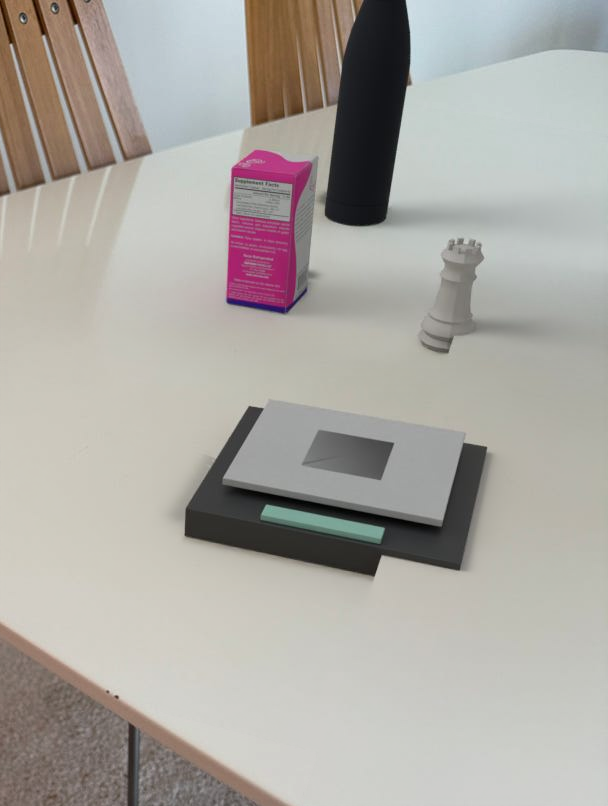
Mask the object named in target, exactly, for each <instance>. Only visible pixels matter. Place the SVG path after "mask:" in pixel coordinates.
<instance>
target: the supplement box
mask: <svg viewBox="0 0 608 806" xmlns="http://www.w3.org/2000/svg"><path fill="white" fill-rule="evenodd" d="M318 167H319V155H316V154H306V153H296V152H295V153H294V152H285V151H277V150H269V149H258V148H256V149H254V150H253V151H252V152H250V153H249V154H248V155H246V156H245V157H243V158H242V159H241V160H240V161H238V162H237V163H236V164H234V165H233V166H232V167H230V168H231V169H230V172H231V173H230V196H229V220H228V226H229V227H228V247H227V268H226V270H227V271H226V293H225V294H226V295H225V296H226V297H225V303H226V304H229V305H234V306H239V307H244V308H251V309H256V310H260V311H261V310H262V311H268V312H272V313H276V314H282V315H287V314H288V313H289V312H290V311H291V310H292V309H293V307H294V306H295V305H296V304H297V303H298V302H300V300H301V299H302V297H304V295H305V294H306V293H307V292H308V284H309V283H308V281H309V269H310V268H309V267H310V257H311V245H312V234H313V223H314V213H315V203H316V202H315V201H316V192H317V191H316V190H317V182H318V181H317V179H318Z"/></svg>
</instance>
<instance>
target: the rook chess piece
mask: <svg viewBox="0 0 608 806" xmlns="http://www.w3.org/2000/svg"><path fill="white" fill-rule="evenodd" d="M464 240H465V237H457V238H456V239H454V238H451V239H449V240H448V242H447V246H446V247H445V248H444V249H443V250H442V251H441V252H440V257H441V259H442V261H443V263H444V267H443V269H442V270H441V271H440V272H439V276H440V285H439V289H438V291H437V295H436V297H435V301H434V303H433V304H432V307H431V308H429V309H428V312H427V314H426V315H424V316H423V318H422V320H421V322H420V328H421V329H420V330H419V331H418V332H417V338H418V339H419V341H420V343H421V345H422V346H423V347H425V348H427V349H428V350H430V351H434V352H438V353H443V354H444V353H445V354H450V353H449V352H450V349H451V346H452V344H453V340H454V338H455V336H457V337H458V336H460V337H461V336H464V335H470V334H471V333H473V332H474V331H475V329H476V323H475V321H474V320H473V316H474V315H473V313H472V308H471V304H472V303H471V301H472V291H473V290H472V289H473V284H474V282H475V281H476V280H477V279H478V276H477V273H476V268H477V267H478V266H479V265H480V264H481V263H482V262H483V261H484V260H485V256H484V254H483V252H482V246H483V244H482V243H481V242H480V241H477V239H473V238H469V239H468V243H467V244H466V243H464ZM455 242H456V243H455Z"/></svg>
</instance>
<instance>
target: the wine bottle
mask: <svg viewBox="0 0 608 806" xmlns="http://www.w3.org/2000/svg"><path fill="white" fill-rule="evenodd" d="M410 27H411V26H410V20H409V12H408V5H407V0H362V3H361V5H360V7H359V9H358V12H357V14H356V17H355V20H354V22H353V24H352V27H351V29H350V33H349V35H348V38H347V42H346V46H345V49H344V53H343V57H342V63H341V64H342V65H341V71H340V80H339V88H338V96H337V104H336V113H335V121H334V130H333V138H332V145H331V155H330V156H331V157H330V163H329V170H328V180H327V188H326V196H325V204H324V216H325V217H326V218H327V219H328V220H330V221H332V222H334V223H338V224H342V225H347V226H360V227H363V226H372V225H379V224H380V223H382V222H385V220H386V219H387V216H388V210H389V204H390V203H389V202H390V197H391V196H390V195H391V192H392V191H391V190H392V184H393V178H394V172H395V166H396V165H395V164H396V158H397V151H398V146H399V139H400V133H401V127H402V120H403V114H404V107H405V102H406V94H407V88H408V81H409V75H410V71H411V60H412V59H411V57H412V55H411V53H412V51H411V50H412V49H411V48H412V45H411V42H412V41H411V28H410Z"/></svg>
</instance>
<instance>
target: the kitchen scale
mask: <svg viewBox="0 0 608 806" xmlns="http://www.w3.org/2000/svg"><path fill="white" fill-rule="evenodd" d="M466 436H467V432H466V431H461V430H454V429H449V428H442V427H437V426H431V425H425V424H420V423H419V424H418V423H414V422H406V421H402V420H395V419H390V418H389V419H388V418H383V417H378V416H371V415H366V414H360V413H353V412H348V411H342V410H336V409H331V408H326V407H325V408H324V407H318V406H312V405H308V404H307V405H306V404H300V403H296V402H295V403H294V402H289V401H283V400H277V399H268V401H267V402H266V404H265V406H264V407H258V406H253V405H248V407H247V408H246V409H245V411H244V413H243V415H242V416H241V418H240V420H239V421H238V423H237V425H235V428H234V430H233V431H232V432H231V434H230V436H229V437H228V439H227V441H226V442H225V444H224V445H223V446H222V448H221V451H219V454H218V455H217V457H216V458H215V460H214V462H213V463H212V465H211V467H210V468H209V470H208V472H207V473H206V474H205V476H204V478H203V479H202V481H201V482H200V484H199V485H198V488H197V489H196V491H195V492H194V494H193V495H192V497H191V499H190V500H189V502H188V503H187V505H186V507H185V510H184V511H185V512H184V513H185V514H184V534H183V535H184V537H189V538H193V539H197V540H202V541H207V542H212V543H216V544H221V545H226V546H232V547H236V548H241V549H244V550H245V549H246V550H250V551H255V552H259V553H260V552H261V553H265V554H269V555H274V556H279V557H284V558H287V559H288V558H289V559H293V560H298V561H302V562H307V563H311V564H317V565H320V566H325V567H330V568H335V569H341V570H345V571H350V572H354V573H360V574H364V575H369V576H376V574H377V571H378V568H379V565H380V562H381V559H382V556H385V557H390V558H396V559H399V560H400V559H401V560H404V561H405V560H406V561H410V562H415V563H420V564H425V565H430V566H434V567H440V568H443V569H449V570H455V571H460V570H461V566H462V562H463V557H464V553H465V550H466V549H465V548H466V544H467V540H468V535H469V530H470V526H471V522H472V517H473V513H474V509H475V504H476V499H477V495H478V492H479V491H478V490H479V486H480V482H481V478H482V473H483V468H484V464H485V460H486V455H487V451H488V446H485V445H480V444H474V443H469V442H465V440H466V439H465V438H466Z"/></svg>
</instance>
